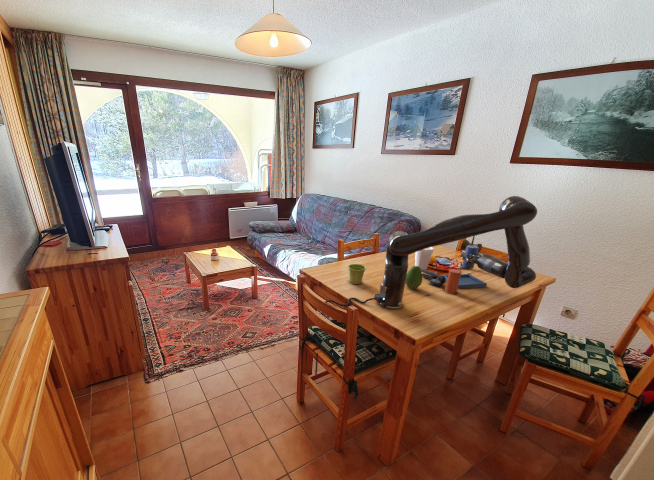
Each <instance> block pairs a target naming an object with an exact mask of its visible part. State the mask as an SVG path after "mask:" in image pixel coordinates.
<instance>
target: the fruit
mask: <svg viewBox="0 0 654 480" xmlns="http://www.w3.org/2000/svg"><path fill="white" fill-rule="evenodd" d="M422 273H423V272H421V269H420V267H419V266H415V265H414V266H412V267H410V269H408V271H407V276H406V281H405V286H407V288H409V289H411V290H416V289H418V288H419V287H420V286H421V285H422V283H423V276H422Z"/></svg>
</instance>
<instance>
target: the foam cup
mask: <svg viewBox="0 0 654 480" xmlns="http://www.w3.org/2000/svg"><path fill="white" fill-rule="evenodd" d="M433 252H434V246H433V247H429V248H426V249H423V250H420V251H417V252H415V258H414V266H419V267H420V269H421V270H422V269H423V270H427V269H428V267H429V264H430V261H431V259H432V255H433Z"/></svg>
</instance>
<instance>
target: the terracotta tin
mask: <svg viewBox="0 0 654 480" xmlns="http://www.w3.org/2000/svg"><path fill="white" fill-rule="evenodd" d="M461 274H462V271H461V270H460V269H456V268H453V269H452V268H450V269H449V270H448V273H447V275H448V278H447V281H445V286H444V287H445V288H444V292H445V293H446V294H451V295H456V294H457V292H458V289H459V288H458V284H459V280H460V276H461Z"/></svg>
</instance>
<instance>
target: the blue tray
mask: <svg viewBox="0 0 654 480" xmlns="http://www.w3.org/2000/svg"><path fill="white" fill-rule="evenodd" d="M442 276H445V278H446V281H445V282H447V278H448V274H442ZM487 286H488V283H487V282H485V281H483V280H481V279H479V278H477V277H476V276H474V275H472V274H470V273H461V276H460V280H459V284H458V288H457V289H473V288H476V289H477V288H486V287H487Z"/></svg>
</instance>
